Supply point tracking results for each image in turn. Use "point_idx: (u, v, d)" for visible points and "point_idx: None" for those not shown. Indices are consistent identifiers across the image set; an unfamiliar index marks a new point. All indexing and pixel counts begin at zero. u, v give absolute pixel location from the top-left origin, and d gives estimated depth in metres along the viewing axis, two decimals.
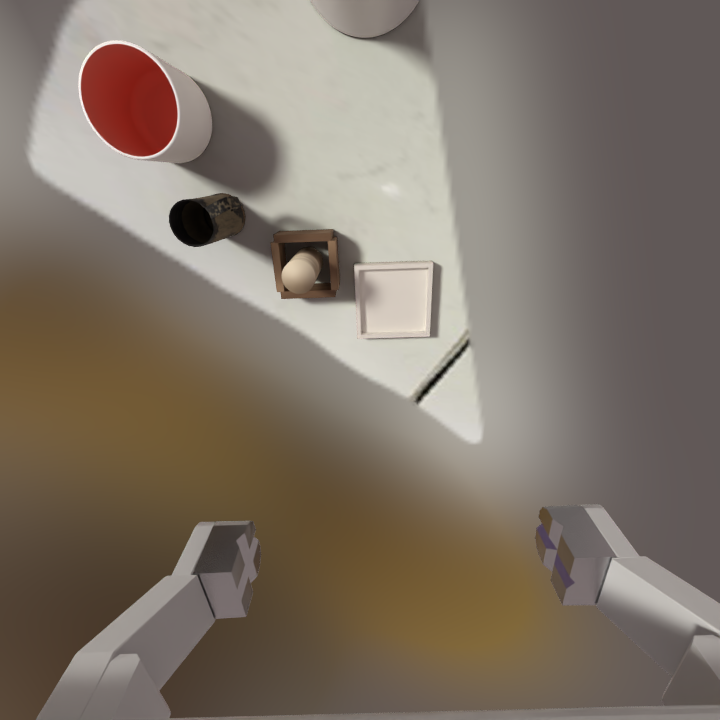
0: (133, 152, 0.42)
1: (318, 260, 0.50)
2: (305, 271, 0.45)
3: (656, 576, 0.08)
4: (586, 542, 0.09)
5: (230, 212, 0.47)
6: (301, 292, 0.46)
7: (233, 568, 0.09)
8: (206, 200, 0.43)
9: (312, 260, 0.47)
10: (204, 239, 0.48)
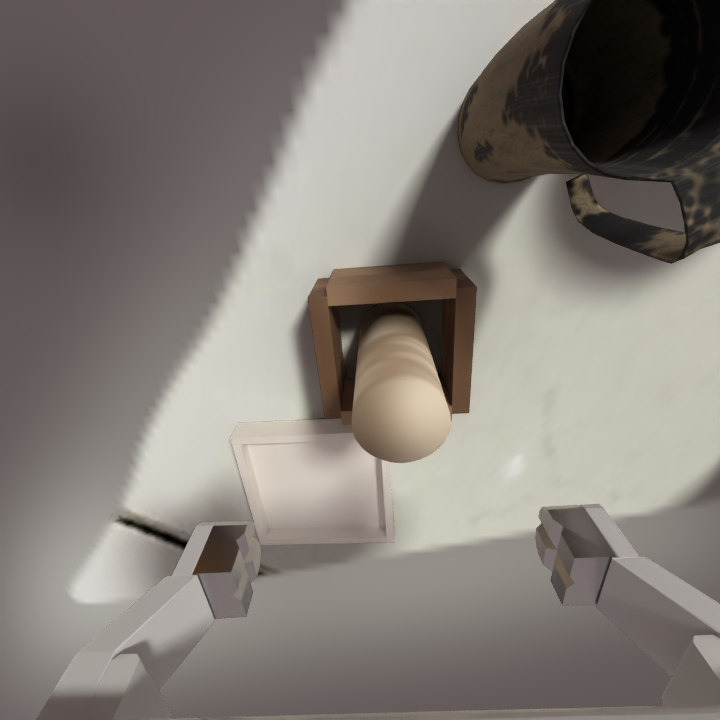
0: None
1: None
2: (419, 441, 0.16)
3: (656, 576, 0.08)
4: (586, 542, 0.09)
5: None
6: (356, 430, 0.15)
7: (233, 568, 0.09)
8: (656, 117, 0.12)
9: None
10: None
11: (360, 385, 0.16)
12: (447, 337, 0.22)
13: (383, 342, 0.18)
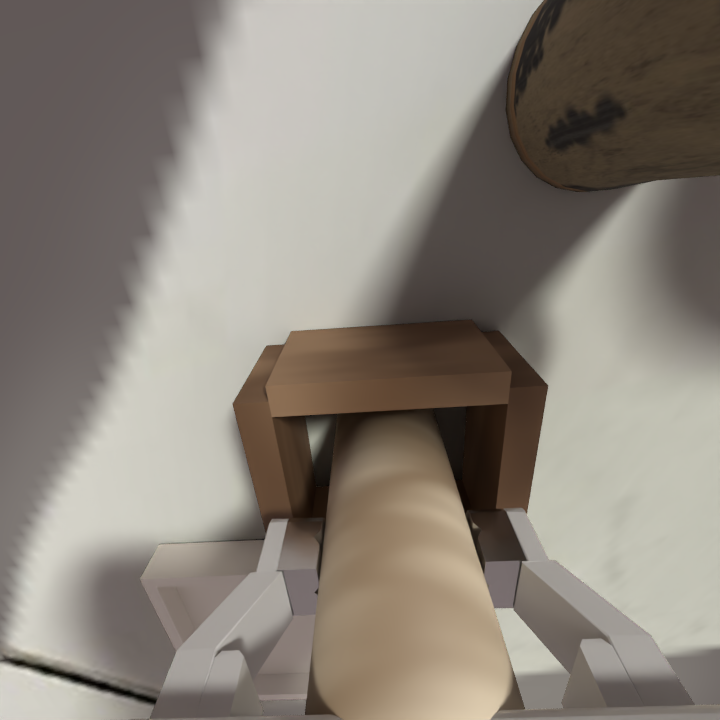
0: None
1: None
2: None
3: (560, 580, 0.08)
4: (500, 546, 0.09)
5: None
6: None
7: (317, 564, 0.09)
8: None
9: None
10: None
11: (323, 651, 0.07)
12: (480, 445, 0.13)
13: (374, 504, 0.09)
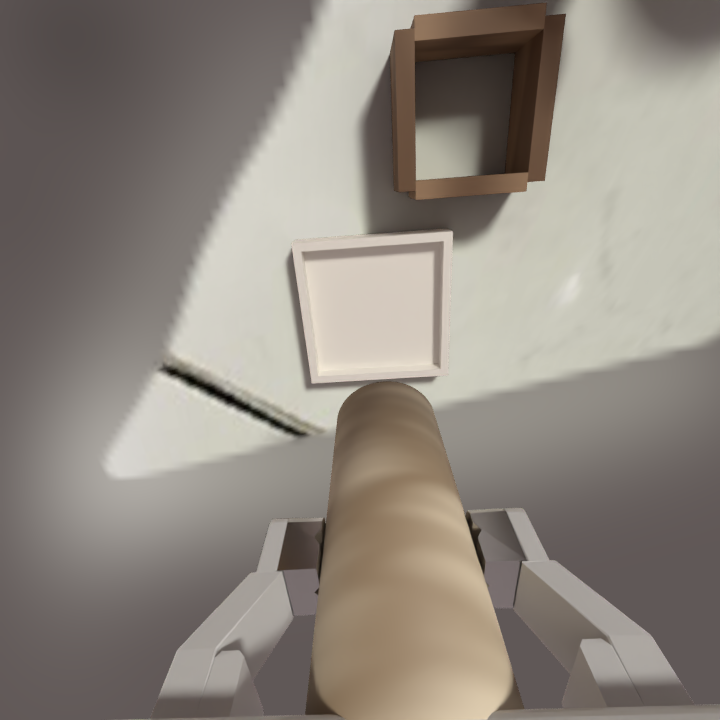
0: None
1: None
2: None
3: (560, 580, 0.08)
4: (500, 546, 0.09)
5: None
6: None
7: (317, 565, 0.09)
8: None
9: None
10: None
11: (323, 651, 0.07)
12: (522, 106, 0.22)
13: (374, 505, 0.09)
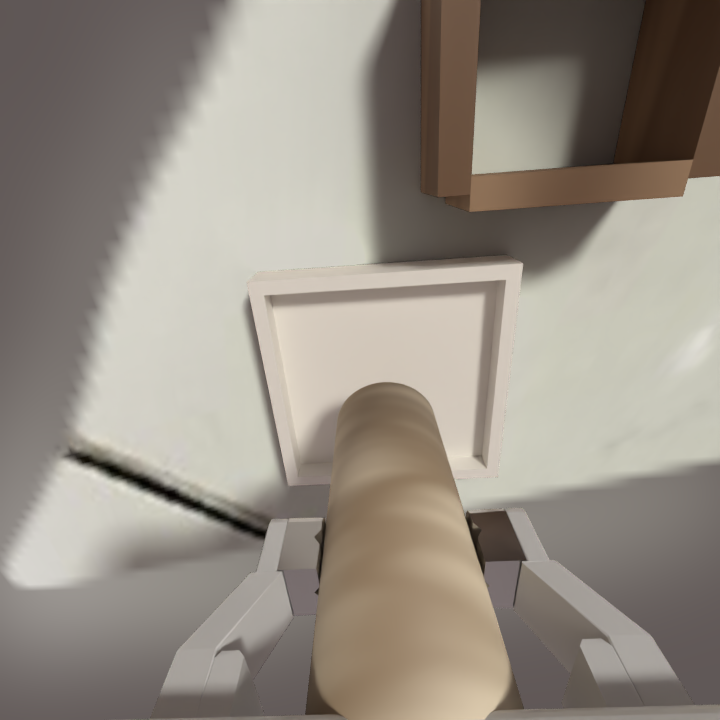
0: None
1: None
2: None
3: (560, 580, 0.08)
4: (500, 546, 0.09)
5: None
6: None
7: (317, 564, 0.09)
8: None
9: None
10: None
11: (323, 652, 0.07)
12: (678, 31, 0.11)
13: (374, 506, 0.09)
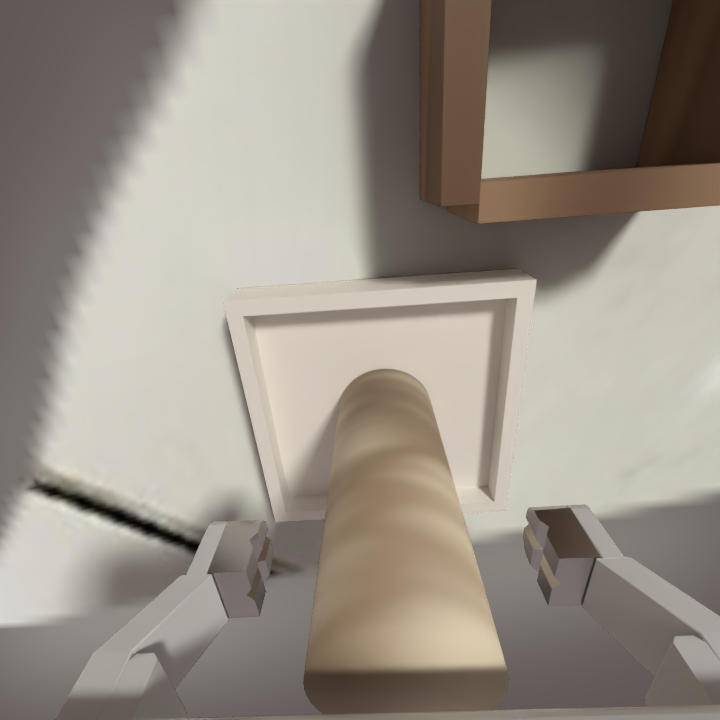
0: None
1: None
2: (442, 710, 0.08)
3: (639, 577, 0.08)
4: (571, 543, 0.09)
5: None
6: (314, 695, 0.08)
7: (247, 567, 0.09)
8: None
9: None
10: None
11: (324, 590, 0.08)
12: None
13: (371, 472, 0.10)
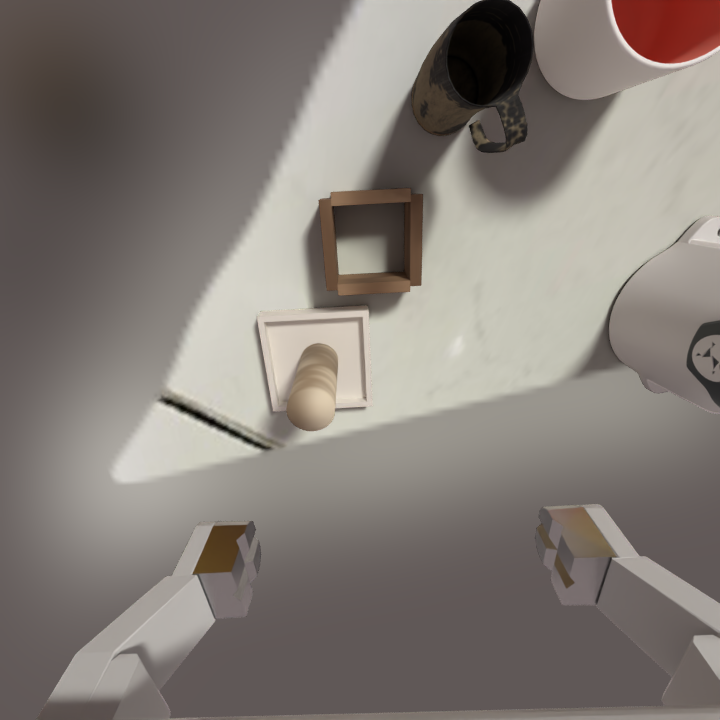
0: None
1: None
2: (320, 419, 0.31)
3: (656, 577, 0.08)
4: (586, 542, 0.09)
5: (463, 121, 0.28)
6: (288, 414, 0.31)
7: (233, 568, 0.09)
8: (504, 85, 0.24)
9: None
10: None
11: (291, 391, 0.32)
12: (407, 236, 0.34)
13: (307, 369, 0.34)
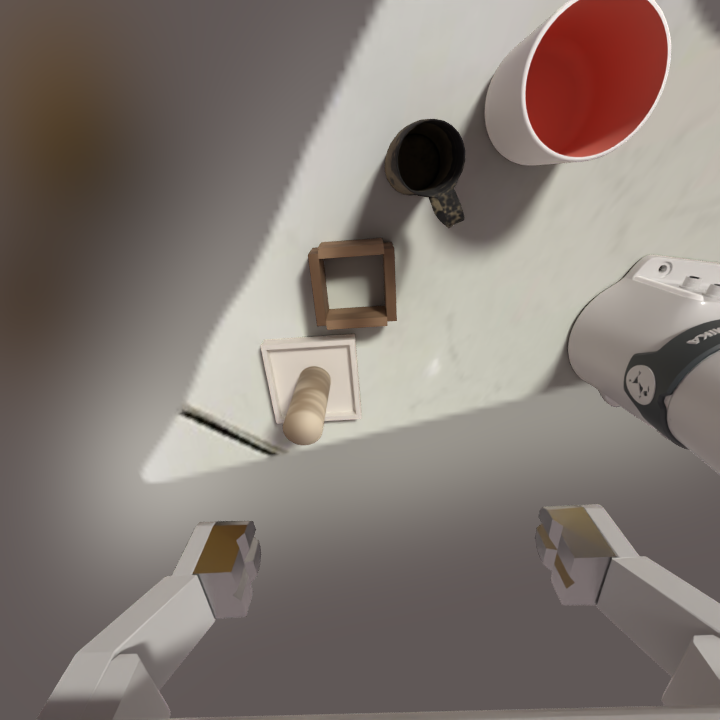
0: None
1: None
2: (310, 436, 0.38)
3: (656, 576, 0.08)
4: (586, 542, 0.09)
5: (424, 190, 0.34)
6: (284, 431, 0.38)
7: (233, 568, 0.09)
8: (450, 170, 0.30)
9: None
10: None
11: (287, 413, 0.38)
12: (384, 279, 0.40)
13: (301, 392, 0.40)
